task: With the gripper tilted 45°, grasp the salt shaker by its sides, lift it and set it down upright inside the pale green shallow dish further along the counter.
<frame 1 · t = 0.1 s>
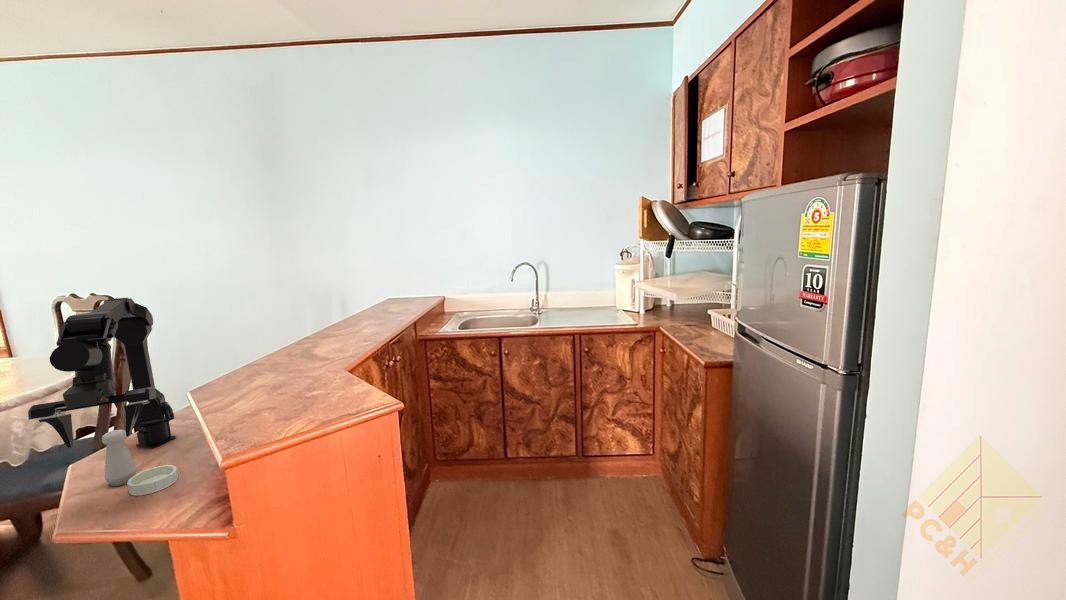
hand: (100, 441, 91), 15 cm above the counter, tool pointing down, fingers open, 9 cm apart
salt shaker: (123, 482, 103), on the counter
pale green shallow dish: (154, 484, 102), on the counter
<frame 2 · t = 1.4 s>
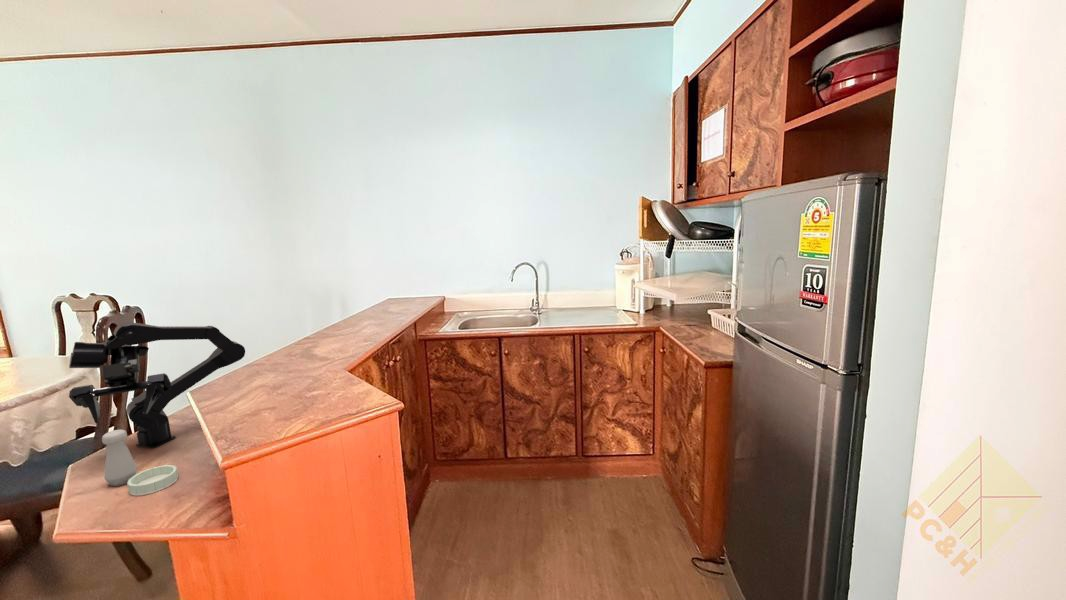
hand: (121, 418, 108), 14 cm above the counter, tool tilted 45°, fingers open, 9 cm apart
nothing on the counter moved.
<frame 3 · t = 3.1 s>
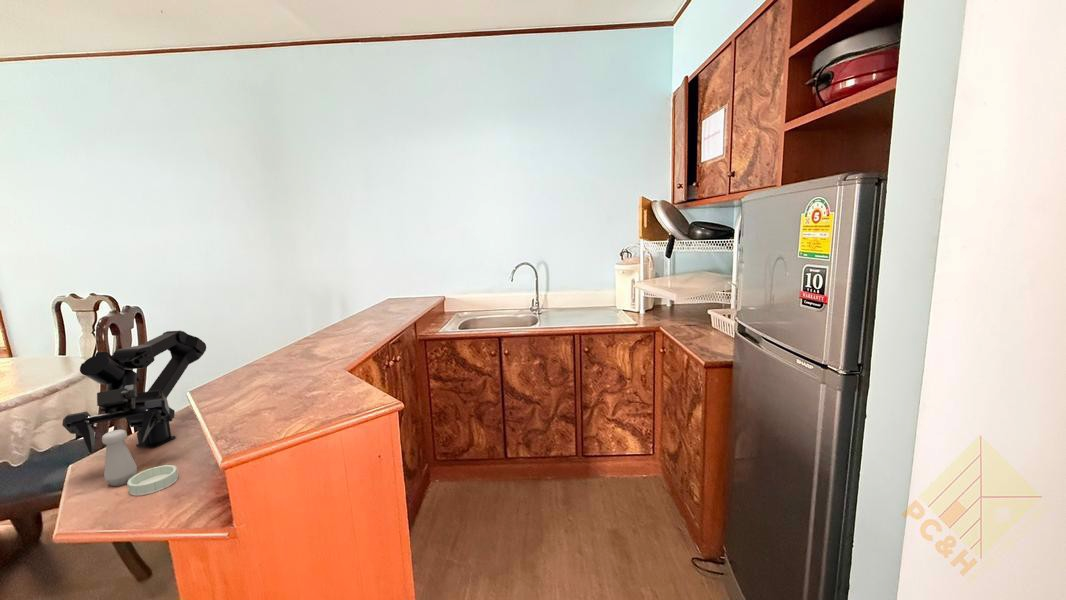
hand: (117, 446, 103), 9 cm above the counter, tool tilted 45°, fingers open, 9 cm apart
nothing on the counter moved.
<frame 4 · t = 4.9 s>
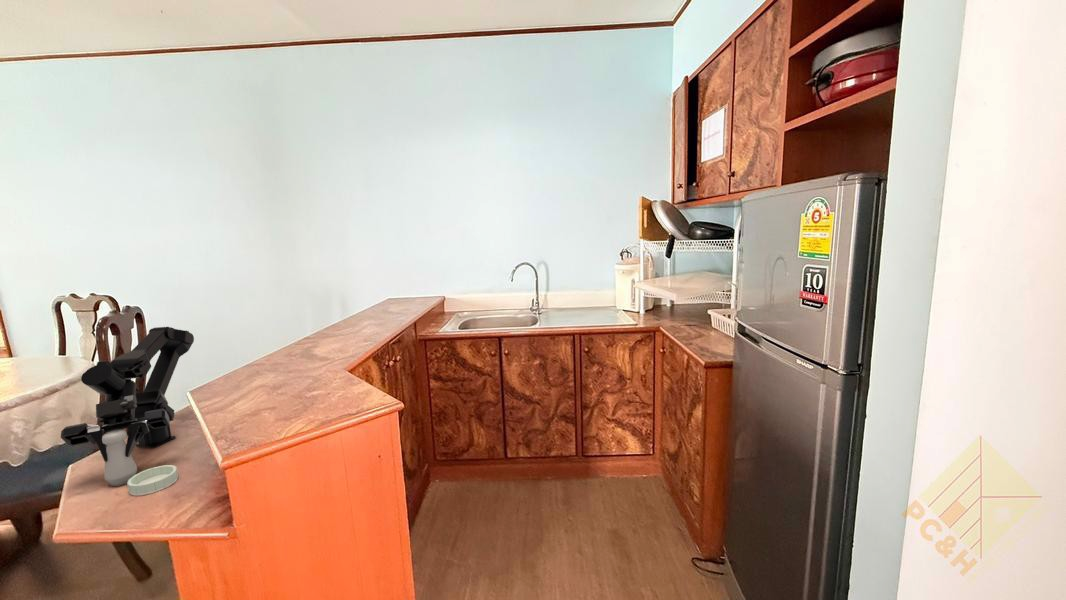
hand: (116, 458, 101), 7 cm above the counter, tool tilted 45°, fingers closed on salt shaker, 3 cm apart
salt shaker: (123, 482, 103), on the counter, touching gripper
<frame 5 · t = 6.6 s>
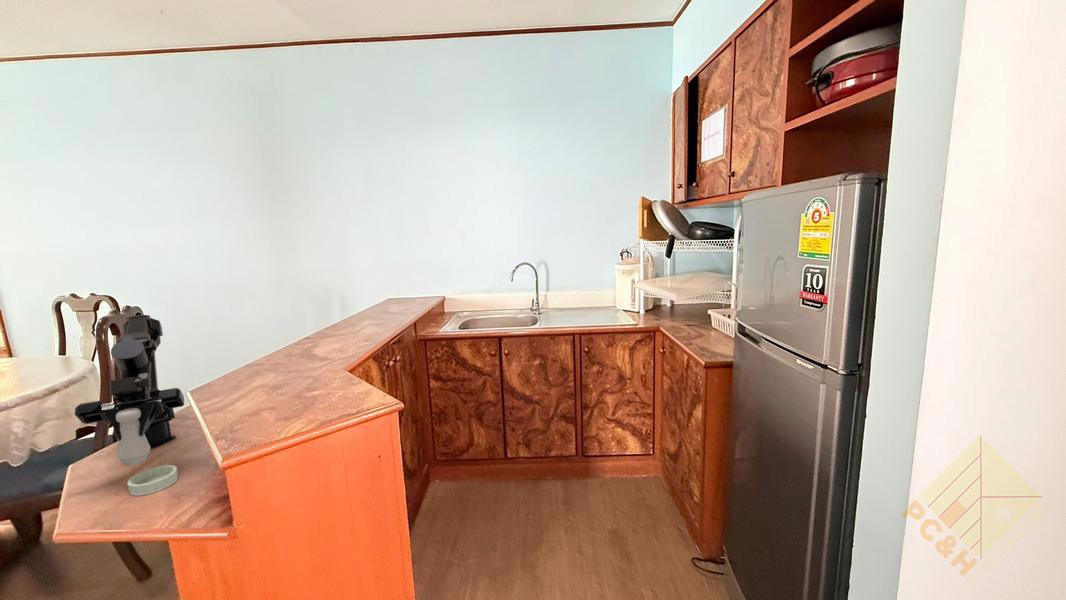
hand: (130, 437, 99), 13 cm above the counter, tool tilted 45°, fingers closed on salt shaker, 3 cm apart
salt shaker: (135, 462, 101), point 6 cm above the counter, touching gripper
when the fingers open (8 cm above the counter, at t = 8.5 s): salt shaker stays where it is, resting on pale green shallow dish.
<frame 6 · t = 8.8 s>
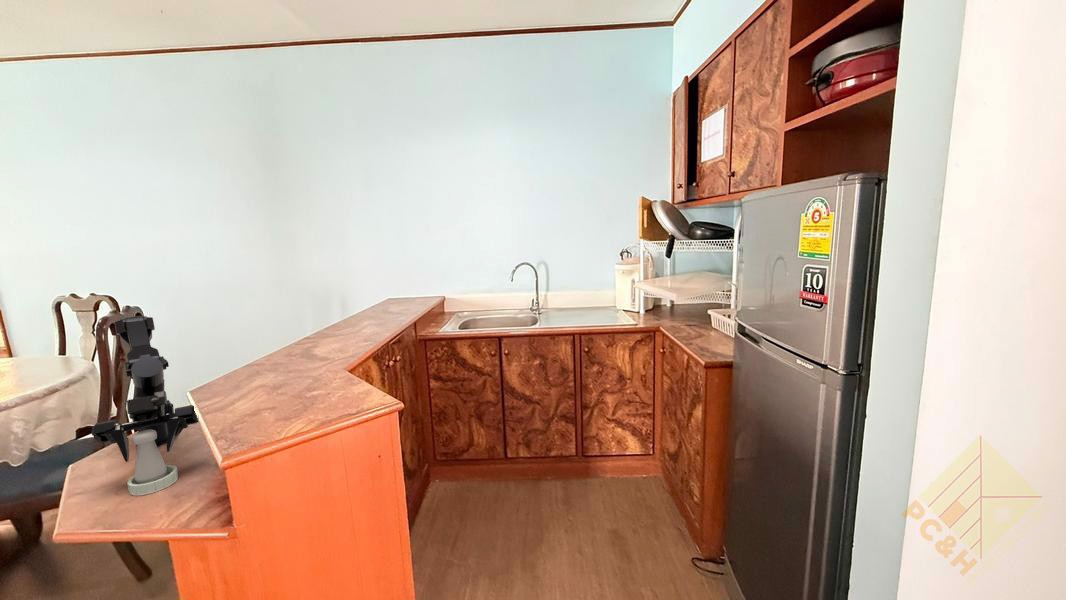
hand: (147, 456, 99), 8 cm above the counter, tool tilted 45°, fingers open, 7 cm apart
salt shaker: (152, 483, 102), resting on pale green shallow dish
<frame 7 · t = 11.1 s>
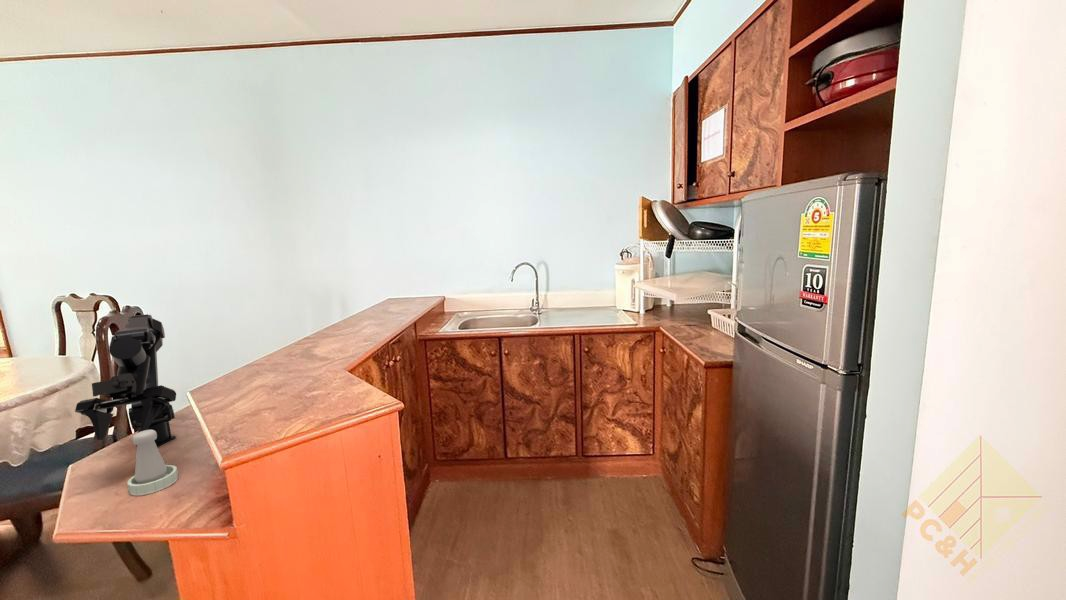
hand: (121, 435, 101), 12 cm above the counter, tool tilted 35°, fingers open, 9 cm apart
nothing on the counter moved.
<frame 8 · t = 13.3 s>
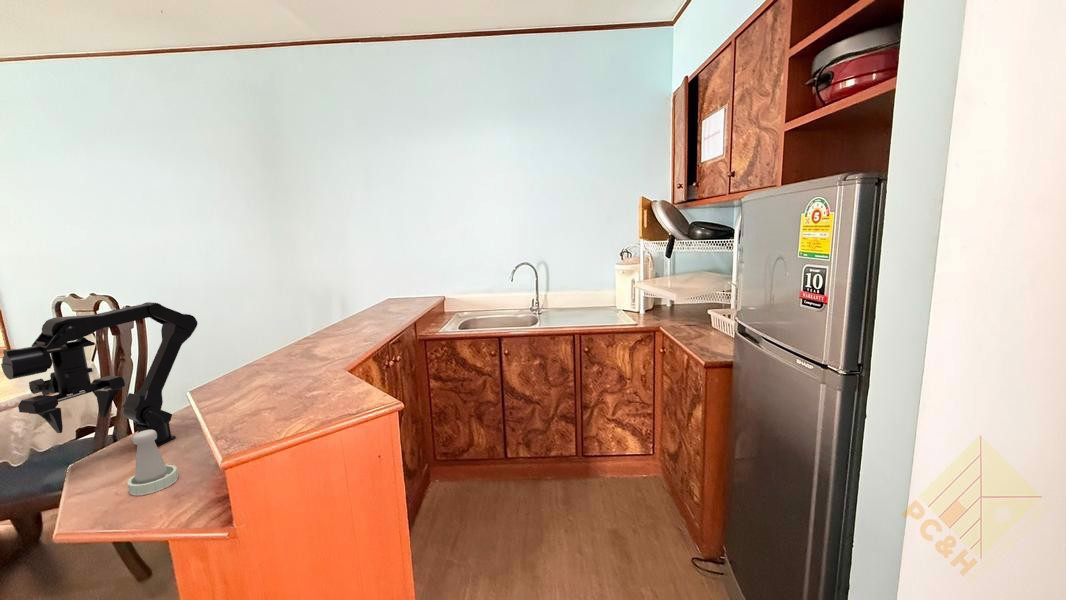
hand: (82, 424, 108), 12 cm above the counter, tool pointing down, fingers open, 9 cm apart
nothing on the counter moved.
at the end: salt shaker 0.4 cm off-centre on the pale green shallow dish, point 0.3 cm above the pale green shallow dish's base; salt shaker tilted 0°; the gripper is holding nothing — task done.
